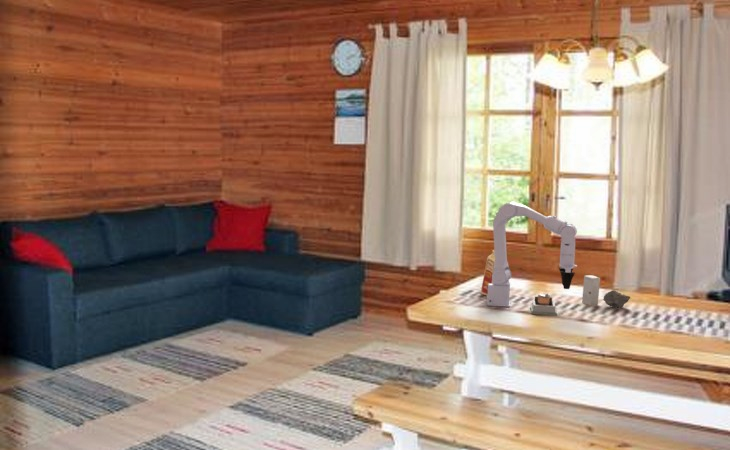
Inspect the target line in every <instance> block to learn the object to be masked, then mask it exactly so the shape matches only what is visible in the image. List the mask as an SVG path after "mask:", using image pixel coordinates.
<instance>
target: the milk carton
mask: <svg viewBox="0 0 730 450" xmlns="http://www.w3.org/2000/svg"><path fill="white" fill-rule="evenodd" d="M494 264H495V251H494V249H492V253H491V254H490V255H488V256H487V258H486V263H485V267H484V268H485V269H484V274H483V277H482V278H483V279H482V282H481V288H480V294H482V295H484V296H486V297H487V296H488V284H492V283H493V280H492V274H493V272H494Z"/></svg>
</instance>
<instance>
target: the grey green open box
mask: <svg viewBox="0 0 730 450" xmlns="http://www.w3.org/2000/svg"><path fill="white" fill-rule="evenodd" d="M530 313H531V314H532V315H544V316H545V315H547V316H558V313H557V308H556V303H555V301H554V300H553V297H552V296H550V299H549V306H545V305H538V295H535V296H534V299H532V304H530Z"/></svg>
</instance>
